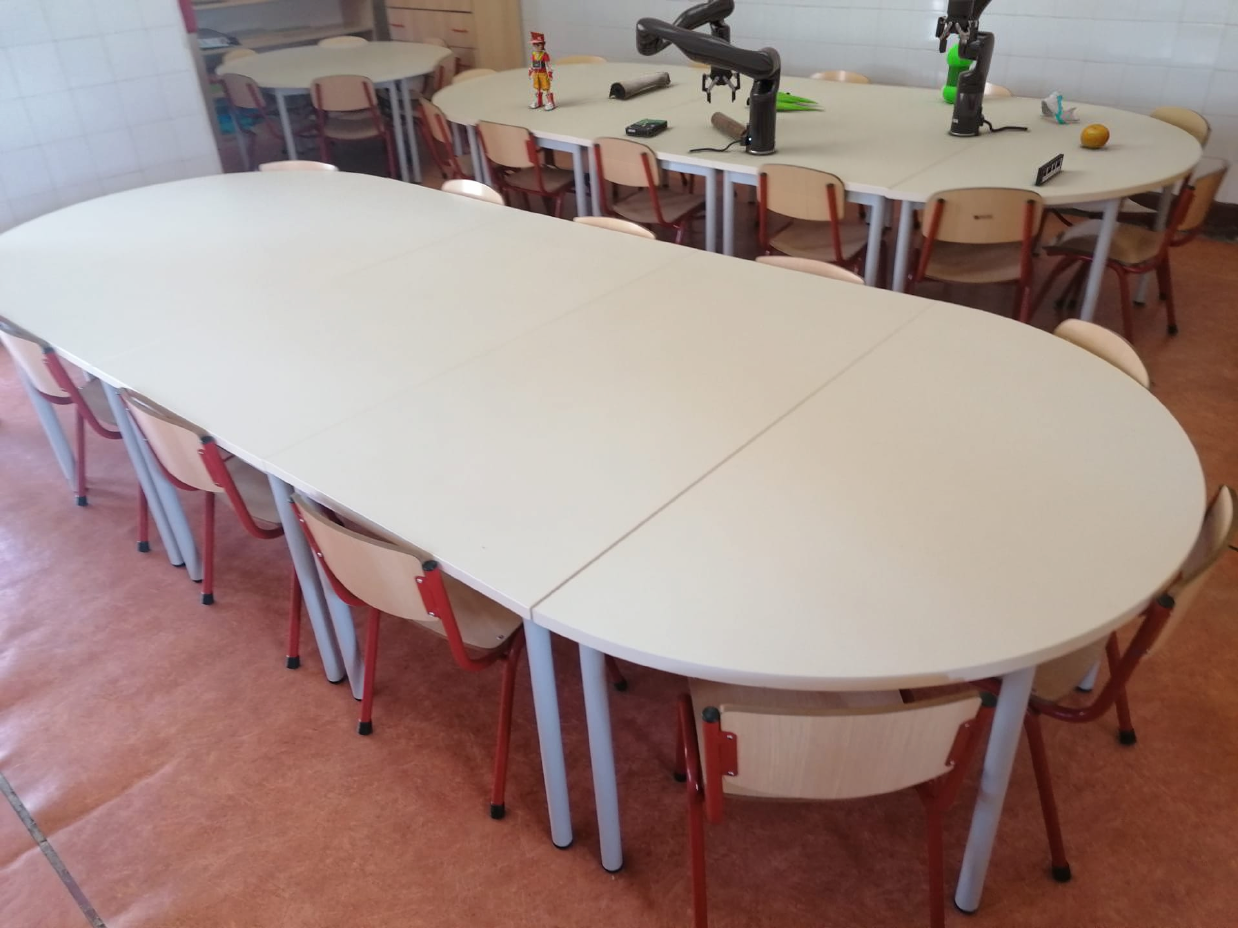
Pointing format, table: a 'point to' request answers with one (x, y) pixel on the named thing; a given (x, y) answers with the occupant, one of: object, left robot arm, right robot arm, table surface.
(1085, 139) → the fruit
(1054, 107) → the anatomical model
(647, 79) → the rolled mat
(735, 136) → the rod
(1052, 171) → the midi keyboard
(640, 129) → the disk drive
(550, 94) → the toy
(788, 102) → the toy
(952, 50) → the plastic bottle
